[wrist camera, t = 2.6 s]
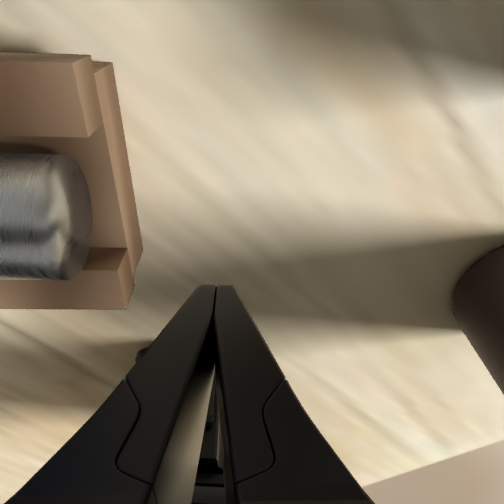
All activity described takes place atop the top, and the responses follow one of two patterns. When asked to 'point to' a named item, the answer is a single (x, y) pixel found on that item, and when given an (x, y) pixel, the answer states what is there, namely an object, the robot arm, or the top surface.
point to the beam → (89, 160)
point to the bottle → (484, 311)
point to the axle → (43, 217)
